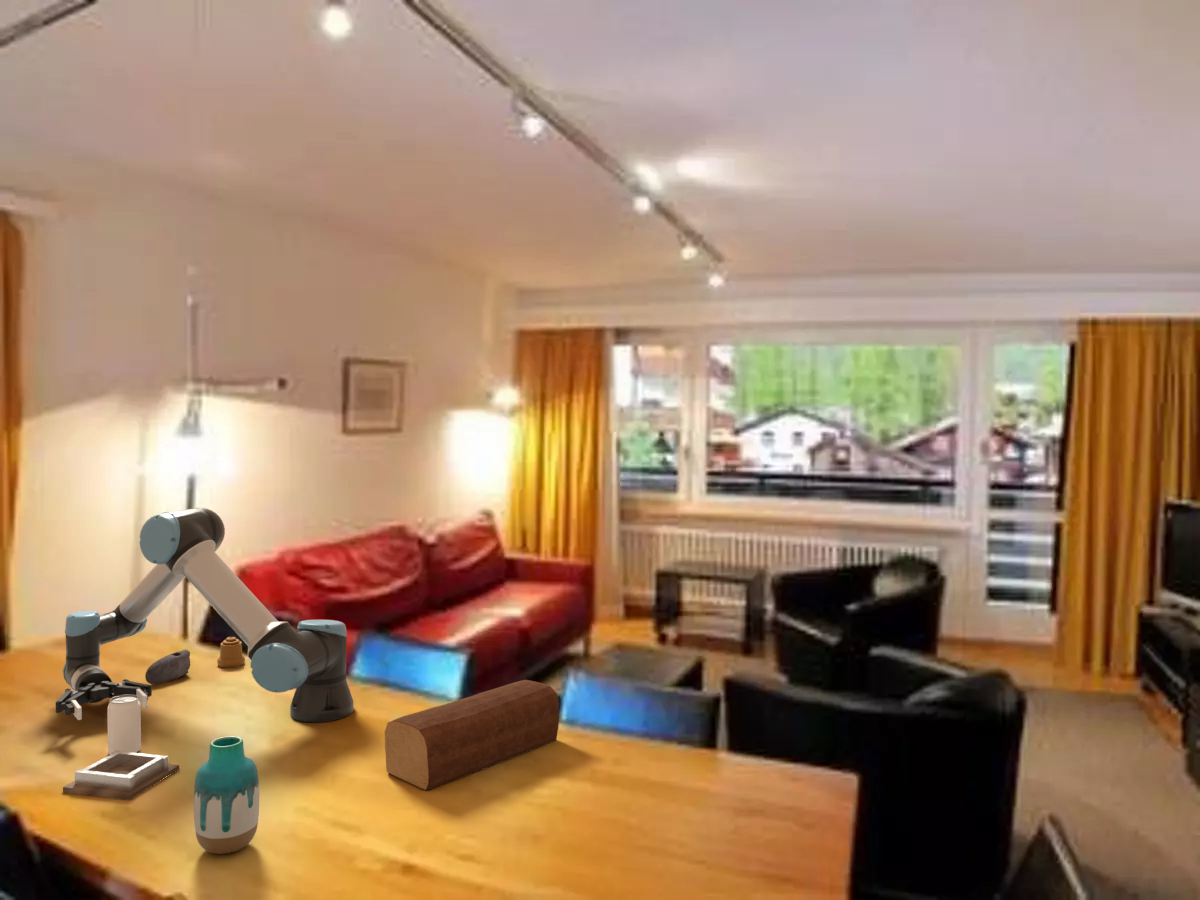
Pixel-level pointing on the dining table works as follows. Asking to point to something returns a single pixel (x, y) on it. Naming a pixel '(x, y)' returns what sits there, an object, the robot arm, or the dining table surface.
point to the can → (124, 724)
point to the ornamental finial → (231, 653)
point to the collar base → (118, 792)
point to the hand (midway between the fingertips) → (113, 707)
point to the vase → (226, 798)
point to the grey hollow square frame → (100, 778)
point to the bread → (471, 733)
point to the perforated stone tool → (169, 667)
